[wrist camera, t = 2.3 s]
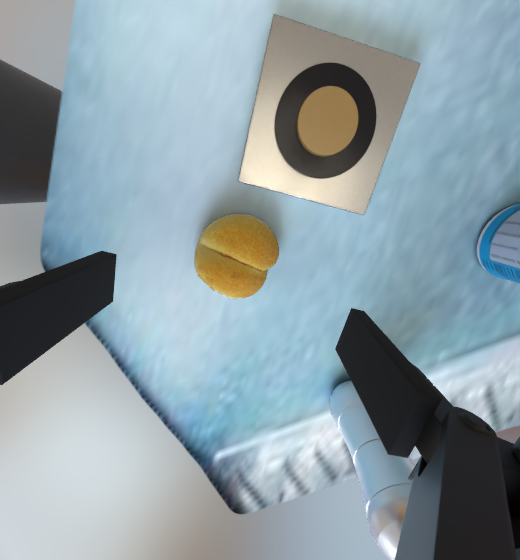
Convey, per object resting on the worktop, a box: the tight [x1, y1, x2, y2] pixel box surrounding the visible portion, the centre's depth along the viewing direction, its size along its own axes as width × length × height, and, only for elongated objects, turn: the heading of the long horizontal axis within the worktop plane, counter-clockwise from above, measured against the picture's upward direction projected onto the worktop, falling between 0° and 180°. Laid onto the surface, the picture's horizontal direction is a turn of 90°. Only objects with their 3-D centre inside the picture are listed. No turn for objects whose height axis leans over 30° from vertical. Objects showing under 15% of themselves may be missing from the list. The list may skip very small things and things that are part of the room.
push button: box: [238, 14, 420, 215], centre depth 24 cm, size 13×13×3 cm
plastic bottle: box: [330, 381, 415, 560], centre depth 26 cm, size 6×7×20 cm
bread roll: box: [195, 214, 279, 299], centre depth 27 cm, size 8×9×4 cm
